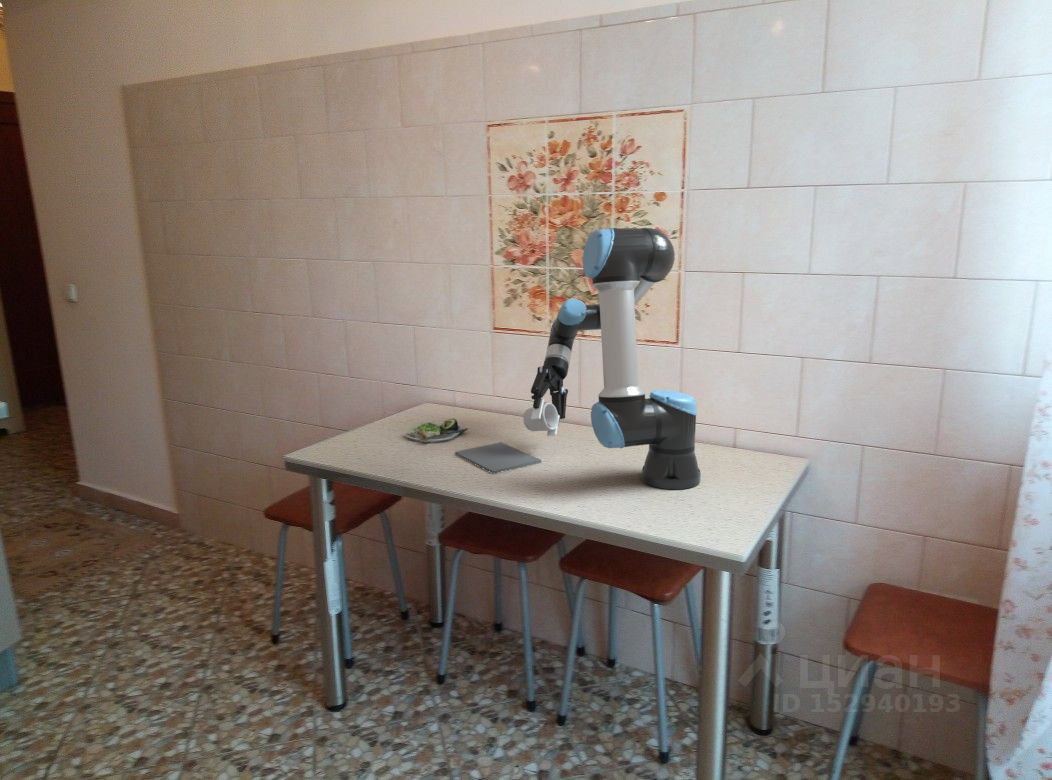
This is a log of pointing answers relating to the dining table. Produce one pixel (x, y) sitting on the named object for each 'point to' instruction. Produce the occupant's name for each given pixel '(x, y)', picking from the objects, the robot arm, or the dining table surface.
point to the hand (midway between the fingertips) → (543, 427)
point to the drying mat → (498, 457)
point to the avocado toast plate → (436, 431)
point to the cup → (542, 419)
